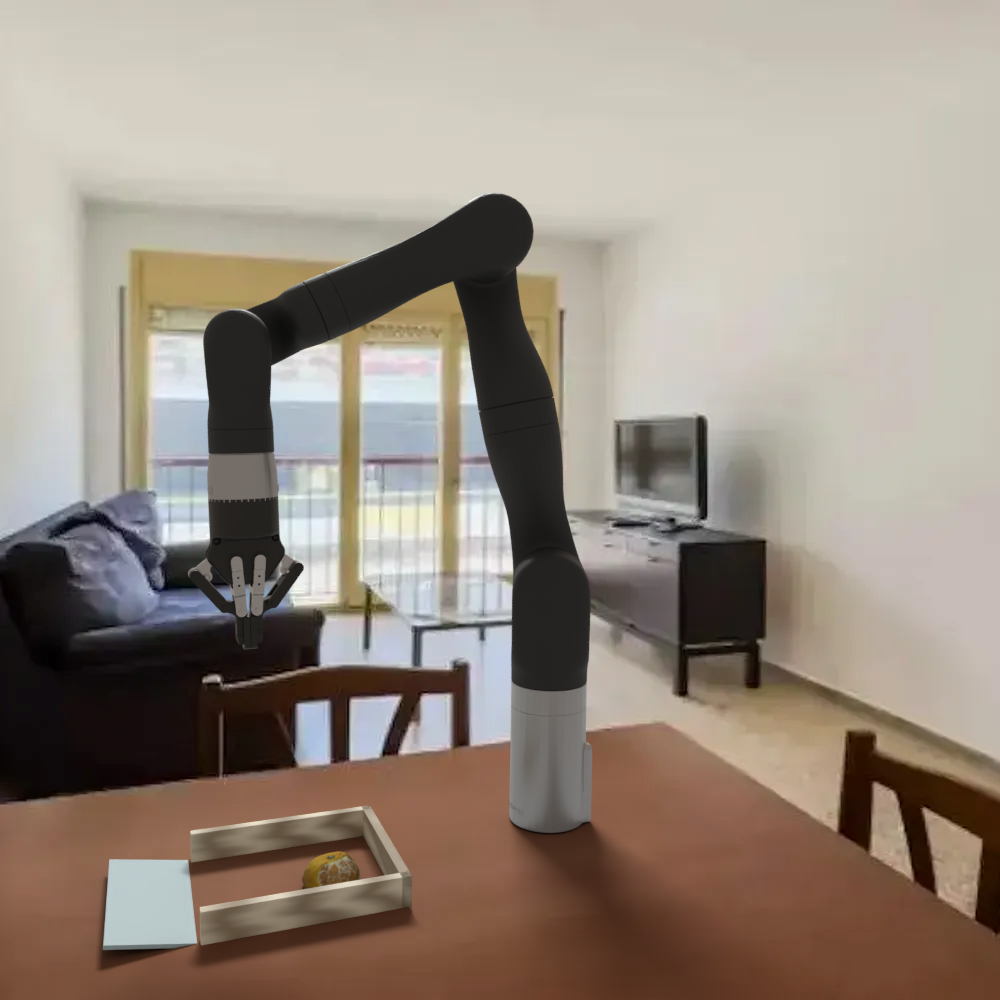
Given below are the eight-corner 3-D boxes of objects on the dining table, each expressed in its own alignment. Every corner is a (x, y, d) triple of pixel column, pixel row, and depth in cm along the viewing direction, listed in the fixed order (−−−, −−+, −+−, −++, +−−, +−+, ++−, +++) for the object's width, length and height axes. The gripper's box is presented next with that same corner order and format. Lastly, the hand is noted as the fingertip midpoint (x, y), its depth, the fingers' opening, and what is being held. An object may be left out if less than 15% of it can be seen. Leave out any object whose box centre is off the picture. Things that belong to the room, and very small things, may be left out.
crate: (369, 834, 108) (369, 805, 108) (411, 909, 91) (411, 875, 91) (190, 861, 101) (190, 830, 100) (200, 949, 84) (200, 912, 84)
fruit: (333, 925, 88) (333, 888, 88) (280, 896, 94) (280, 862, 93) (396, 892, 95) (396, 858, 95) (343, 867, 100) (343, 834, 100)
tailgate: (188, 860, 100) (109, 859, 97) (197, 943, 84) (103, 945, 81) (187, 863, 100) (108, 863, 97) (196, 947, 84) (102, 949, 81)
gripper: (296, 489, 108) (302, 634, 109) (178, 494, 102) (185, 647, 104) (309, 493, 101) (315, 648, 102) (183, 499, 96) (190, 662, 97)
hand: (249, 647), depth 103 cm, fingers closed
